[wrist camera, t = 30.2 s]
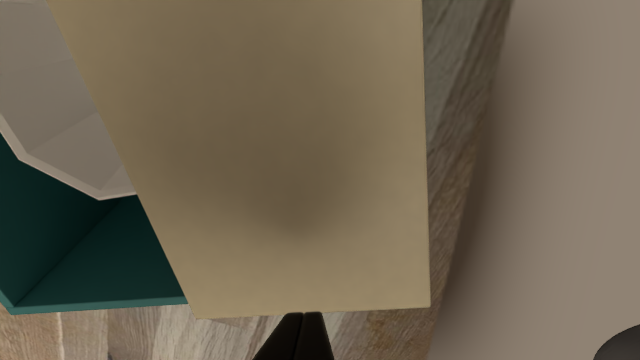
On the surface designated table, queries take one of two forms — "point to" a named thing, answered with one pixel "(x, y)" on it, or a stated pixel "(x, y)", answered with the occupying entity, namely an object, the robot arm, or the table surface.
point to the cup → (52, 105)
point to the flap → (269, 144)
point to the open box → (75, 247)
